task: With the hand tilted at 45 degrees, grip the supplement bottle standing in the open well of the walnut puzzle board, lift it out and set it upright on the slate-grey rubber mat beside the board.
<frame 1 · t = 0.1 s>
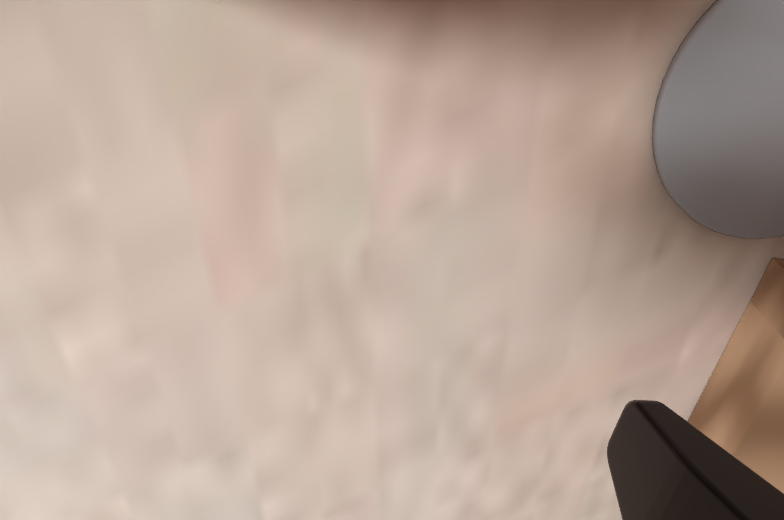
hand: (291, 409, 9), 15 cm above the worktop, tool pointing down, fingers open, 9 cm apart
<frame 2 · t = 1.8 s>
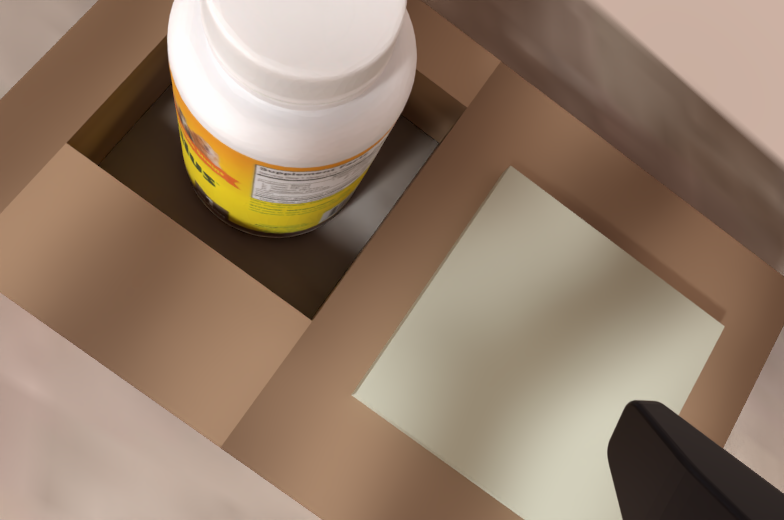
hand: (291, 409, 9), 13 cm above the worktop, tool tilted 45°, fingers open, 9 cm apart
supplement bottle: (272, 162, 24), resting in puzzle board
puzzle board: (381, 276, 24), on the worktop
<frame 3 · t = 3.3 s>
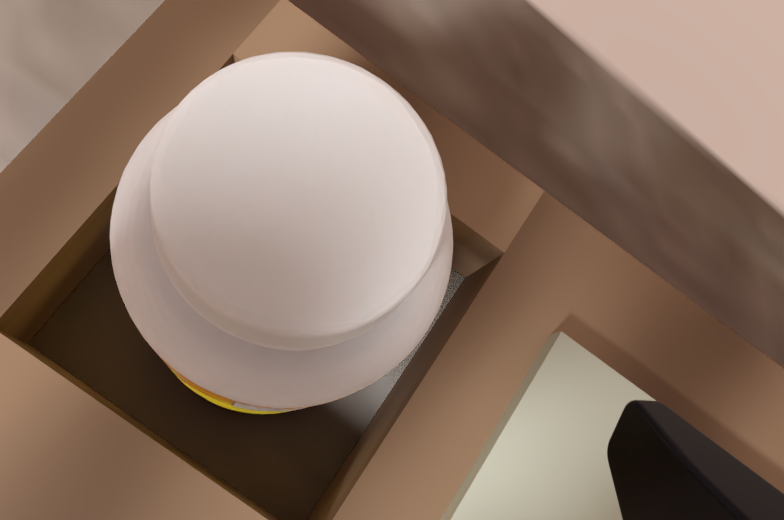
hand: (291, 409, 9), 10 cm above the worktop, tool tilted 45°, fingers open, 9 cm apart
supplement bottle: (262, 309, 20), resting in puzzle board
puzzle board: (396, 451, 19), on the worktop
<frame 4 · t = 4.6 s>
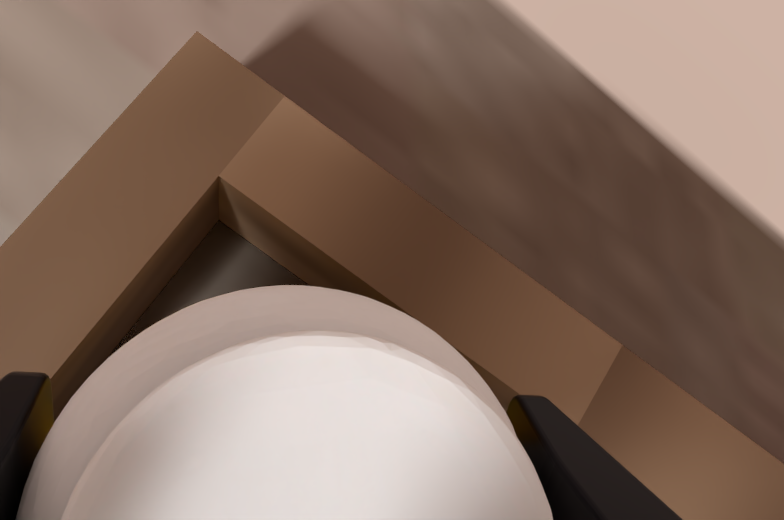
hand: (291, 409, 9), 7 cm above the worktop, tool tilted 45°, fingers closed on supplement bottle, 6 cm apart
supplement bottle: (257, 484, 15), resting in puzzle board, touching gripper
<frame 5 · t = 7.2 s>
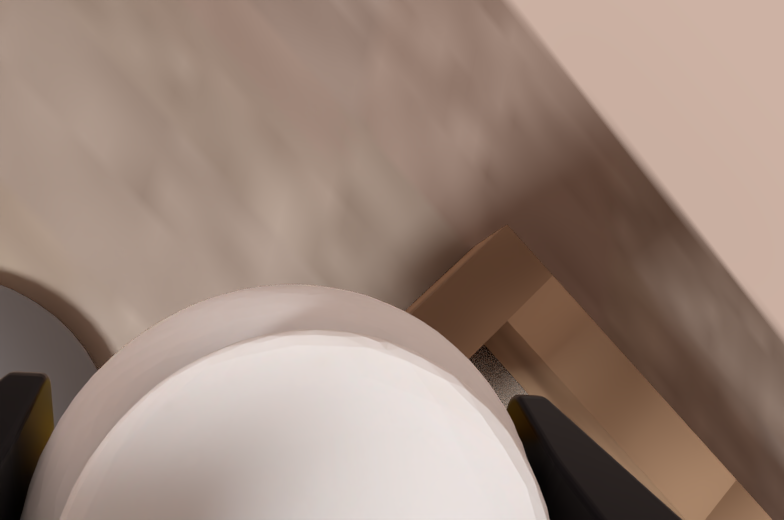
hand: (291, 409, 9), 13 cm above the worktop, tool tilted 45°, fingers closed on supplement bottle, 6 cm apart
supplement bottle: (266, 481, 16), point 6 cm above the worktop, touching gripper
when the fingers open (8 cm above the worktop, at t = 9.4 s): supplement bottle drops 1 cm, resting on rubber mat.
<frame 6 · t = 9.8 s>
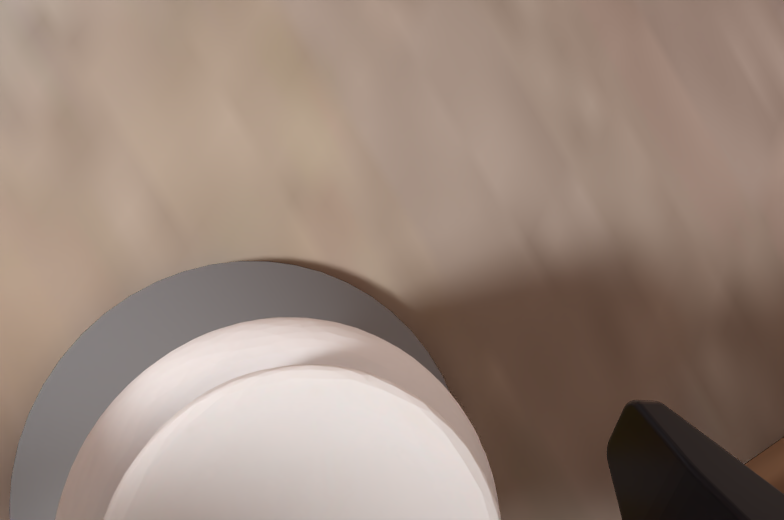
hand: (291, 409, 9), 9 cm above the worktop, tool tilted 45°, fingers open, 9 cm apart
supplement bottle: (258, 486, 17), resting on rubber mat
rubber mat: (253, 478, 17), on the worktop
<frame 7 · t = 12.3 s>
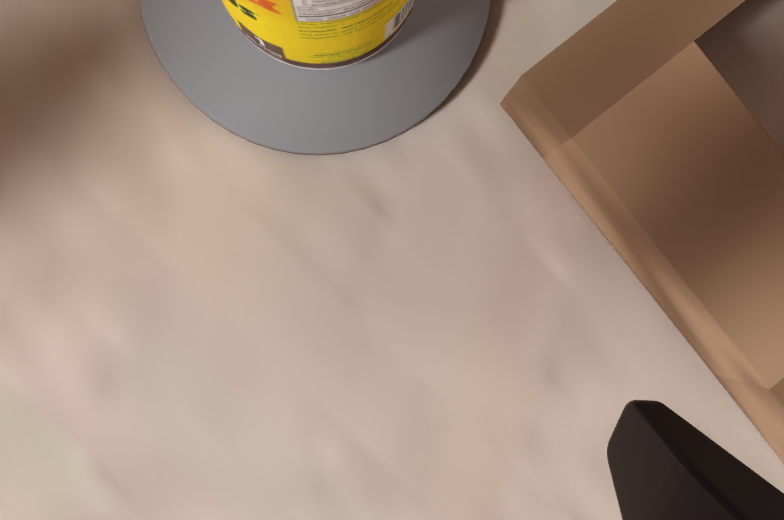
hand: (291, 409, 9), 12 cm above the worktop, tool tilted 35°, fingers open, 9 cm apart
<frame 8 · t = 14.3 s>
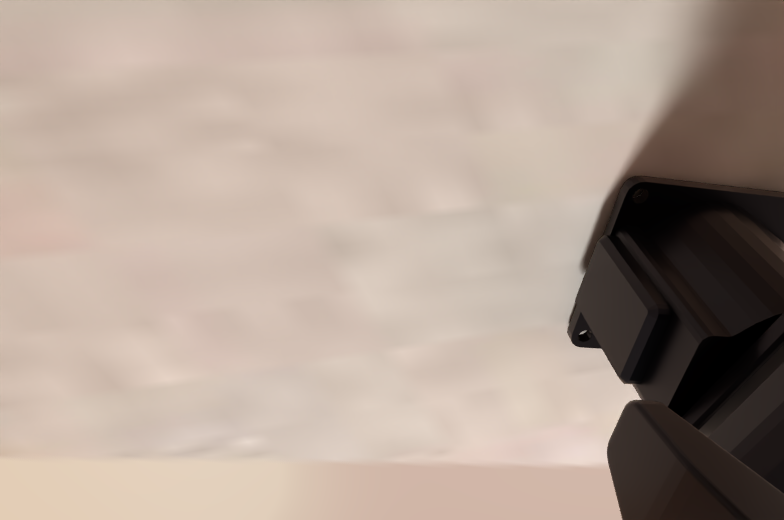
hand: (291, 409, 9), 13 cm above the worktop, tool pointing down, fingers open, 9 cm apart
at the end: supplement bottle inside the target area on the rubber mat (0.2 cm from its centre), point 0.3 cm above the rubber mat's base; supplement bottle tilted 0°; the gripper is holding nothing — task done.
